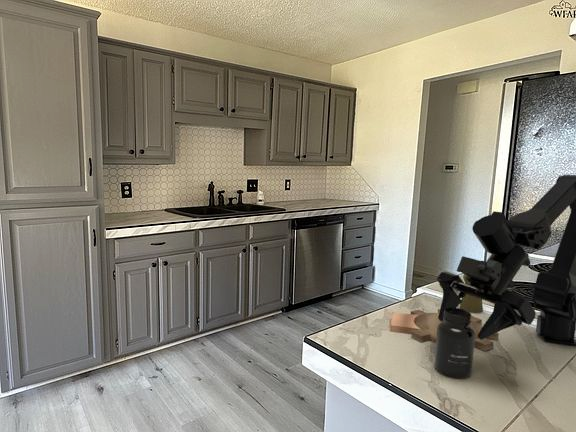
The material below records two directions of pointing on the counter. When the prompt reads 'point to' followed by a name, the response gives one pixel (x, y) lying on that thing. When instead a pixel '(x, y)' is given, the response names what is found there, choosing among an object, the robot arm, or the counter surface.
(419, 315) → the sprocket plate
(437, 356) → the supplement bottle
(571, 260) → the robot arm
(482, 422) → the counter surface
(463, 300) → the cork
